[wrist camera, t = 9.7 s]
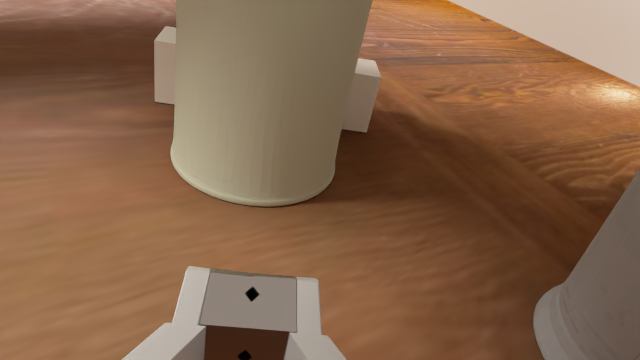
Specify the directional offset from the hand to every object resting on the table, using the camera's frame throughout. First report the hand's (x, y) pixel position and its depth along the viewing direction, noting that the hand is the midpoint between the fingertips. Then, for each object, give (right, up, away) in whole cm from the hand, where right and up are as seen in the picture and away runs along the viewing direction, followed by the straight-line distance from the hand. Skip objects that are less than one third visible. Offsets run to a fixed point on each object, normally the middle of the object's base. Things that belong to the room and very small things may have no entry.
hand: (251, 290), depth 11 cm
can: (-2, +4, +16) cm, 17 cm away
